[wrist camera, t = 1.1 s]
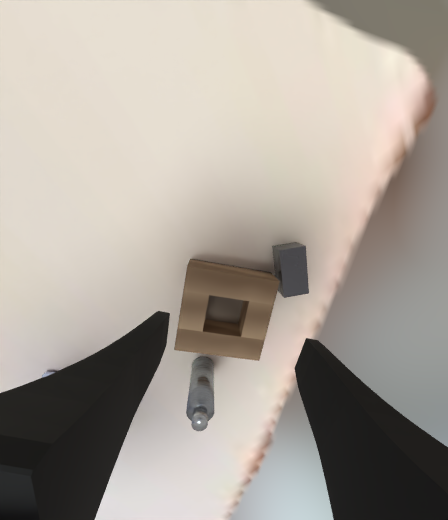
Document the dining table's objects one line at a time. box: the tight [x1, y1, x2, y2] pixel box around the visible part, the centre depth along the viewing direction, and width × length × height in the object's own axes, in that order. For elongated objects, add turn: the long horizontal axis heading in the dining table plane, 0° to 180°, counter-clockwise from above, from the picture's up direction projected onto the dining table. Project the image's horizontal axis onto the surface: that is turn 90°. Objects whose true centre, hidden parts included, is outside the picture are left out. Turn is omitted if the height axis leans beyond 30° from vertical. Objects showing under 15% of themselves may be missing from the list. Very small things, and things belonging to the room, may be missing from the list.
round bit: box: [186, 357, 214, 431], centre depth 22 cm, size 3×3×7 cm
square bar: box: [272, 242, 309, 298], centre depth 22 cm, size 5×3×3 cm, turn 9°
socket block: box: [174, 259, 280, 361], centre depth 22 cm, size 9×9×3 cm
